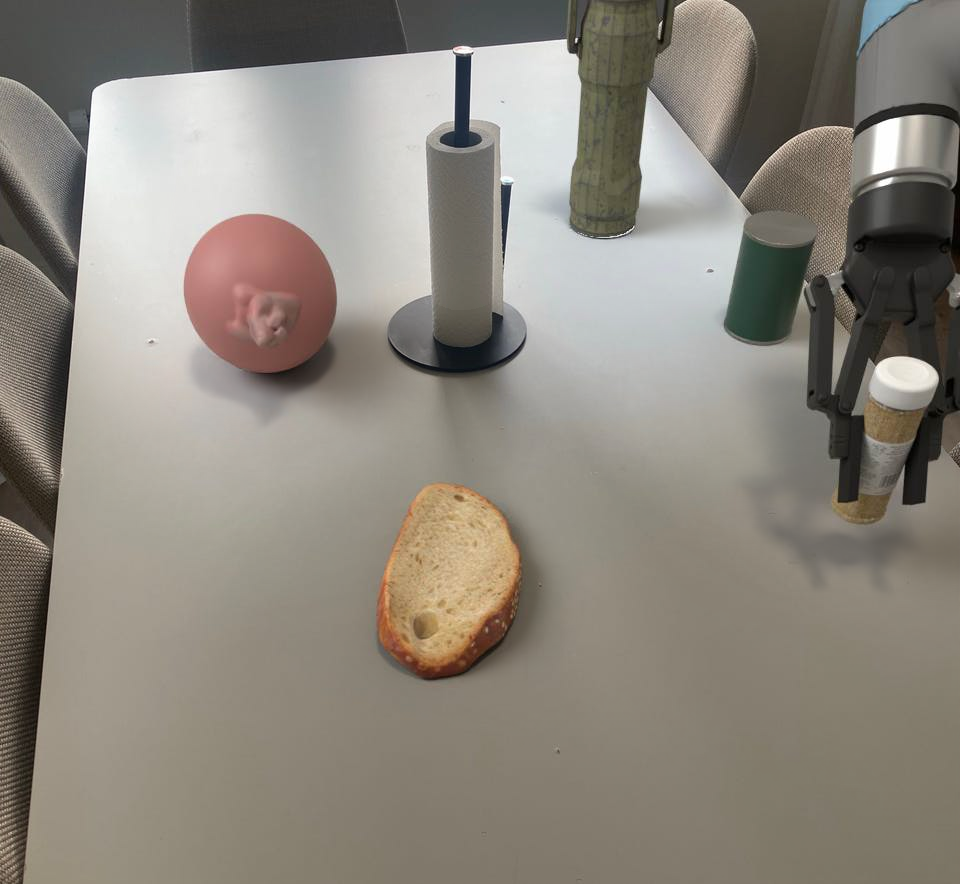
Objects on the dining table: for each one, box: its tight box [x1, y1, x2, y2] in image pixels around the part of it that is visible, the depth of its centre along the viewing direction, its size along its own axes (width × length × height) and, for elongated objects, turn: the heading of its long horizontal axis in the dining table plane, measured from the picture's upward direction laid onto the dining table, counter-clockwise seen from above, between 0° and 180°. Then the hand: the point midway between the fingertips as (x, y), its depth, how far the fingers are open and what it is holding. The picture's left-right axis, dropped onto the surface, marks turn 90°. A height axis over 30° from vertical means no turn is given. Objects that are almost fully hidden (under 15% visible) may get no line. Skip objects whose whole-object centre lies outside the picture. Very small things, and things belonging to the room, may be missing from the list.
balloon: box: [183, 213, 338, 374], centre depth 96 cm, size 15×20×15 cm
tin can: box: [723, 210, 819, 346], centre depth 102 cm, size 8×8×12 cm
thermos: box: [566, 0, 677, 237], centre depth 110 cm, size 9×12×35 cm
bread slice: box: [376, 482, 523, 680], centre depth 79 cm, size 18×18×4 cm
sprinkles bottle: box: [830, 356, 939, 526], centre depth 74 cm, size 5×5×13 cm
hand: (880, 502), depth 74 cm, fingers closed on sprinkles bottle, 4 cm apart
